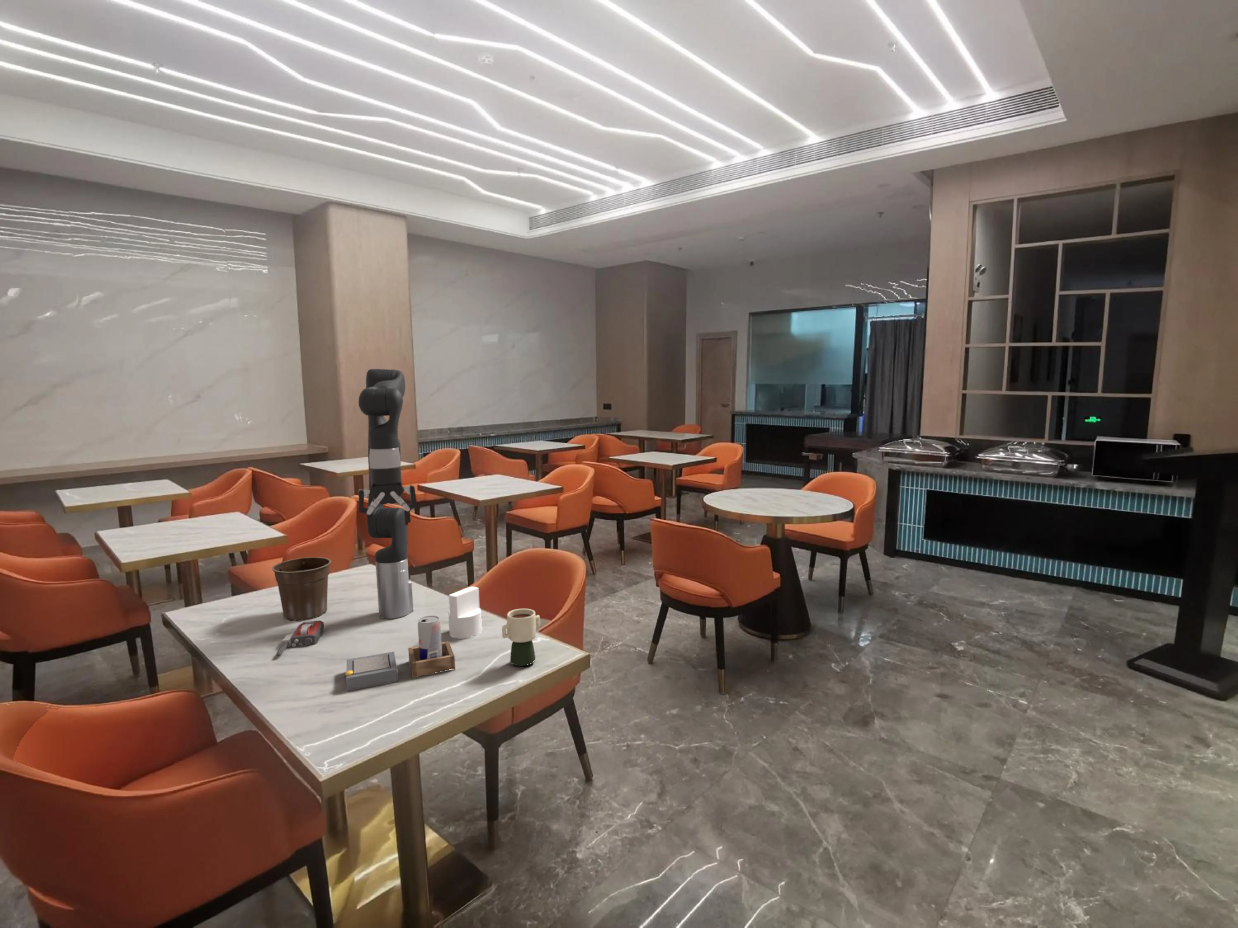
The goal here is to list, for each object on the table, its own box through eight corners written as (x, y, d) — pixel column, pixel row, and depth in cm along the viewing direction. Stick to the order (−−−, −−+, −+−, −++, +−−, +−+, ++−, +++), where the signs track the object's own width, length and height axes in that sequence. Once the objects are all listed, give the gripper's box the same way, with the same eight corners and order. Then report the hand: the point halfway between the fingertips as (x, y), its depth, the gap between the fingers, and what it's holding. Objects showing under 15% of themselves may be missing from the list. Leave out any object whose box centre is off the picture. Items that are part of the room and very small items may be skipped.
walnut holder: (449, 653, 161) (448, 641, 161) (455, 669, 152) (454, 655, 152) (409, 661, 157) (408, 647, 157) (412, 677, 148) (411, 663, 148)
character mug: (533, 652, 161) (531, 604, 160) (549, 660, 156) (547, 611, 154) (496, 665, 154) (494, 615, 153) (511, 674, 149) (509, 622, 147)
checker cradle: (394, 662, 156) (394, 649, 156) (397, 681, 146) (396, 666, 146) (346, 671, 152) (345, 657, 152) (346, 690, 142) (345, 675, 142)
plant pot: (343, 612, 193) (340, 562, 191) (289, 628, 181) (284, 574, 179) (321, 601, 203) (317, 553, 201) (268, 615, 191) (263, 565, 189)
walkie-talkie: (293, 631, 179) (274, 660, 159) (292, 617, 178) (272, 644, 159) (326, 628, 181) (311, 656, 162) (325, 613, 180) (310, 640, 161)
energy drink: (422, 661, 157) (420, 615, 156) (444, 660, 157) (442, 614, 156) (418, 670, 152) (415, 623, 150) (440, 669, 152) (437, 622, 151)
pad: (388, 659, 154) (387, 654, 154) (389, 672, 147) (389, 666, 147) (354, 665, 151) (353, 660, 151) (354, 679, 144) (353, 673, 144)
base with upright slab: (465, 640, 169) (463, 598, 168) (442, 634, 174) (440, 593, 173) (488, 629, 177) (487, 589, 176) (466, 623, 182) (464, 584, 180)
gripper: (412, 462, 167) (416, 520, 169) (355, 465, 161) (359, 526, 164) (415, 465, 160) (419, 526, 162) (355, 469, 155) (360, 532, 157)
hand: (389, 526), depth 163 cm, fingers open, 8 cm apart
